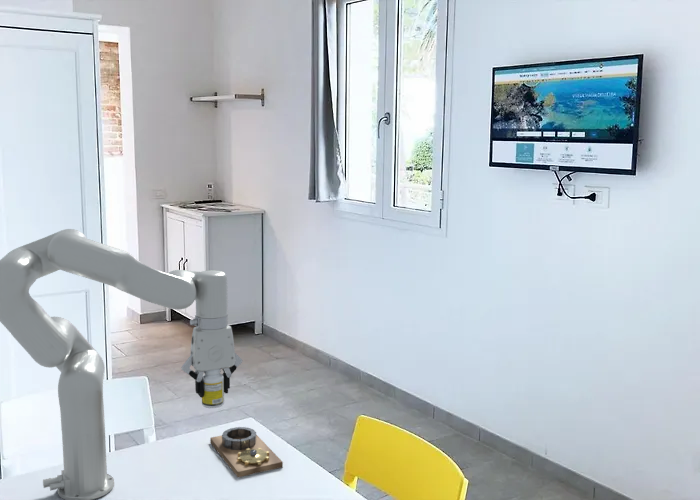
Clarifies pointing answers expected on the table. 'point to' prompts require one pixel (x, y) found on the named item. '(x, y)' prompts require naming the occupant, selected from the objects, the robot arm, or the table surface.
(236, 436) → the socket ring
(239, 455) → the brass gear
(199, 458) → the table surface
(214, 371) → the supplement bottle
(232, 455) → the gear board
